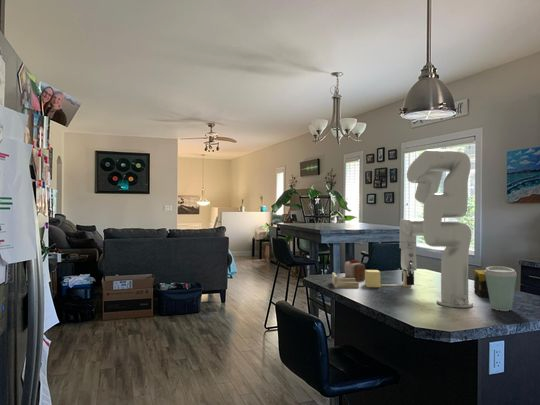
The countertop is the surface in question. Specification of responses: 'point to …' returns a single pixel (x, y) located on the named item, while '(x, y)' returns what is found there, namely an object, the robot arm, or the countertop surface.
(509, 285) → the disposable coffee cup
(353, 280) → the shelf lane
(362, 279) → the food item
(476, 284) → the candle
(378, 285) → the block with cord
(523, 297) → the countertop surface
